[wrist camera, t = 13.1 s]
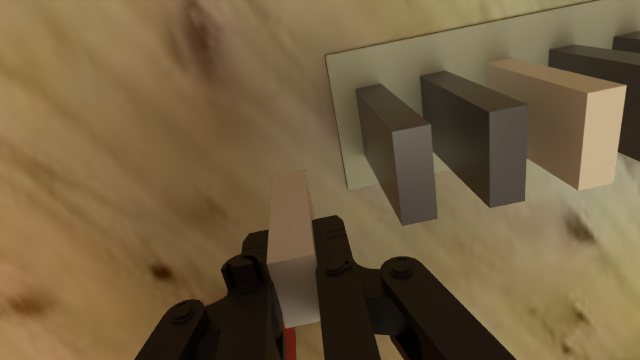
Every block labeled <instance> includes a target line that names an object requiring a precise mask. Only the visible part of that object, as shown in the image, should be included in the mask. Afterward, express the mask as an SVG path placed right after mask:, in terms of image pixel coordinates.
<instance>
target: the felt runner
mask: <svg viewBox="0 0 640 360" xmlns="http://www.w3.org/2000/svg"><path fill="white" fill-rule="evenodd" d="M638 31H640V0H596V1H591V2H586V3H581V4H576V5H571V6H566V7H561V8H556V9H551V10H547V11H542V12H537V13H532V14H527V15H522V16H517V17H512V18H507V19H502V20H497V21H492V22H487V23H482V24H477V25H472V26H467V27H462V28H457V29H452V30H448V31H443V32H438V33H433V34H428V35H423V36H418V37H413V38H408V39H403V40H398V41H393V42H388V43H383V44H378V45H373V46H368V47H363V48H358V49H353V50H349V51H344V52H339V53H334V54H329V55H325V58H326V64H327V69H328V75H329V81H330V87H331V93H332V99H333V105H334V110H335V116H336V122H337V128H338V134H339V140H340V146H341V151H342V157H343V163H344V169H345V175H346V181H347V187H348V190H354V189H359V188H364V187H369V186H374V185H379V184H380V183H379V182H378V180H377V178H376V176H375V174H374V172H373V170H372V169H371V167H370V165H369V163H368V161H367V159H366V157H365V154H364V147H363V140H362V133H361V126H360V119H359V112H358V105H357V99H356V92H355V89H357V88H362V87H367V86H372V85H377V84H382V85H383V86H385V87H386V88H387V89H388V90H389V91H391V92H392V93H393V94H394V95H396V96H397V97H398V98H399V99H401V100H402V101H403V102H404V103H405V104H407V105H408V106H409V107H410V108H412V109H413V110H414V111H415V112H416V113H418V114H419V115H420V116H421V117H423V111H422V98H421V84H420V76H421V75H426V74H431V73H436V72H441V71H448V72H451V73H453V74H455V75H458V76H460V77H463V78H465V79H468V80H470V81H472V82H475V83H477V84H480V85H482V86H485V63H488V62H493V61H498V60H503V59H507V58H514V59H518V60H523V61H527V62H531V63H535V64H539V65H544V66H548V60H549V49H554V48H559V47H564V46H569V45H574V44H576V45H583V46H590V47H597V48H605V49H612V46H613V37H614V36H619V35H624V34H629V33H633V32H638ZM433 162H434V173H438V172H443V171H448V170H451V169H450V168H449V167H448V166H447V165H446V164H445V163H444V162H443V161H442V160H441V159H440V158H439V157H438V156H437V155H436V154H435V153H434V152H433Z"/></svg>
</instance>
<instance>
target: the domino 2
mask: <svg viewBox="0 0 640 360" xmlns="http://www.w3.org/2000/svg"><path fill="white" fill-rule="evenodd" d="M420 84H421V98H422V111H423V118H424V119H425V120H426V121H428V122H429V123H430V124H431V133H432V147H433V152H434V153H435V154H436V155H437V156H438V157H439V158H440V159H441V160H442V161H443V162H444V163H445V164H446V165H447V166H448V167H449V168H450V169H451V170H452V171H453V172H454V173H455V174H456V175H457V176H458V177H459V178H460V179H461V180H462V181H463V182H464V183H465V184H466V185H467V186H468V187H469V188H470V189H471V190H472V191H473V192H474V193H475V194H476V195H477V196H478V197H479V198H480V199H481V200H482V201H483V202H484V203H485V204H486V205H487V206H488V207H489V208H492V207H497V206H502V205H507V204H512V203H517V202H522V201H525V181H526V155H527V129H528V104H526V103H524V102H521V101H519V100H516V99H514V98H511V97H509V96H507V95H504V94H502V93H499V92H497V91H494V90H492V89H489V88H487V87H485V86H482V85H480V84H477V83H475V82H472V81H470V80H468V79H465V78H463V77H460V76H458V75H455V74H453V73H451V72H448V71H441V72H436V73H431V74H426V75H421V76H420Z"/></svg>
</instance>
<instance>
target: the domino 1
mask: <svg viewBox="0 0 640 360" xmlns="http://www.w3.org/2000/svg"><path fill="white" fill-rule="evenodd" d="M355 92H356V99H357V105H358V112H359V119H360V126H361V133H362V140H363V147H364V154H365V157H366V159H367V161H368V163H369V165H370V167H371V169H372V170H373V172H374V174H375V176H376V178H377V180H378V182H379V183H380V185H381V187H382V189H383V191H384V193H385V195H386V196H387V198H388V200H389V202H390V204H391V206H392V208H393V209H394V211H395V213H396V215H397V217H398V219H399V221H400V222H401V224H402V226H404V225H409V224H414V223H419V222H423V221H428V220H433V219H437V206H436V192H435V177H434V162H433V147H432V133H431V124H430V123H429V122H428V121H426V120H425V119H424V118H423V117H421V116H420V115H419V114H418V113H416V112H415V111H414V110H413V109H412V108H410V107H409V106H408V105H407V104H405V103H404V102H403V101H402V100H401V99H399V98H398V97H397V96H396V95H394V94H393V93H392V92H391V91H389V90H388V89H387V88H386V87H385V86H383V85H382V84H377V85H372V86H367V87H362V88H357V89H355Z"/></svg>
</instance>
